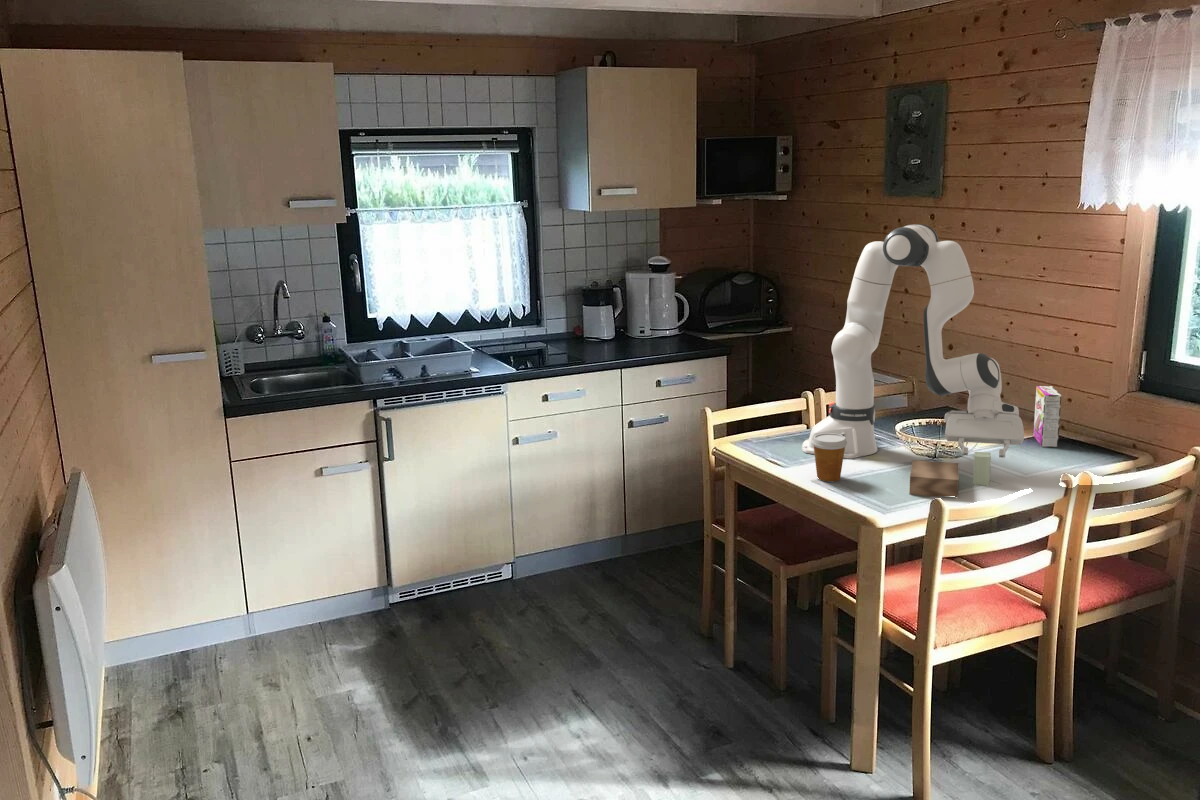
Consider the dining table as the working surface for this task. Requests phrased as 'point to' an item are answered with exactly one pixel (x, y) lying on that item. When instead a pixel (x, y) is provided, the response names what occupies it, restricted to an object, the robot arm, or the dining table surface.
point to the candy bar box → (1047, 416)
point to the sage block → (981, 468)
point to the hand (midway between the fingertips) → (983, 455)
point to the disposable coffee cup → (829, 455)
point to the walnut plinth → (934, 478)
